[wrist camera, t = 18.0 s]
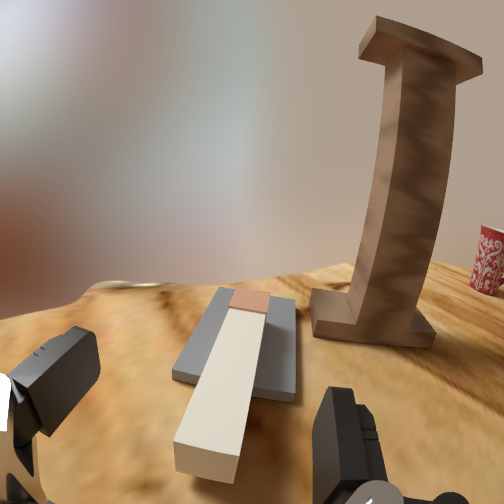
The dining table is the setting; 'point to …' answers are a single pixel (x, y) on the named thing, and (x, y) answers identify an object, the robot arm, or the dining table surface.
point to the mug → (489, 261)
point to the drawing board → (270, 354)
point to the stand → (400, 189)
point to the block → (223, 393)
